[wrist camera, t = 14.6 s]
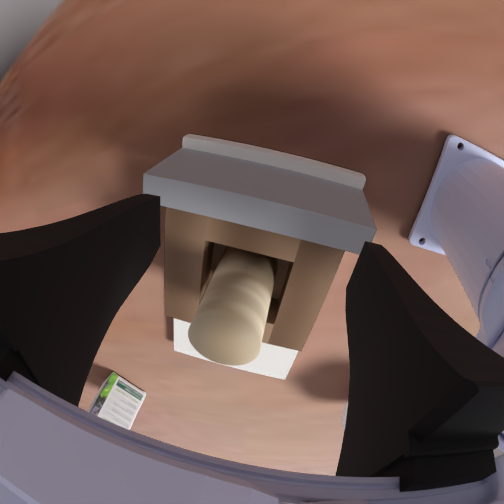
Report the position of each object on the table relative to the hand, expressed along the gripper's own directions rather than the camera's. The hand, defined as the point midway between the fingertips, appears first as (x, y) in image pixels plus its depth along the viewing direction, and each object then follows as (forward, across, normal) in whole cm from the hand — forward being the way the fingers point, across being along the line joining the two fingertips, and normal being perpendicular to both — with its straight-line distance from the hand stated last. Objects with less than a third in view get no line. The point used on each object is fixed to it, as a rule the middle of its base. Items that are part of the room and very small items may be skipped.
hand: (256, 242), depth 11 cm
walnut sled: (+9, +1, +6) cm, 11 cm away
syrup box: (+10, +15, +34) cm, 39 cm away
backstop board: (+10, +1, +10) cm, 14 cm away
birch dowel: (+8, +1, +6) cm, 10 cm away
